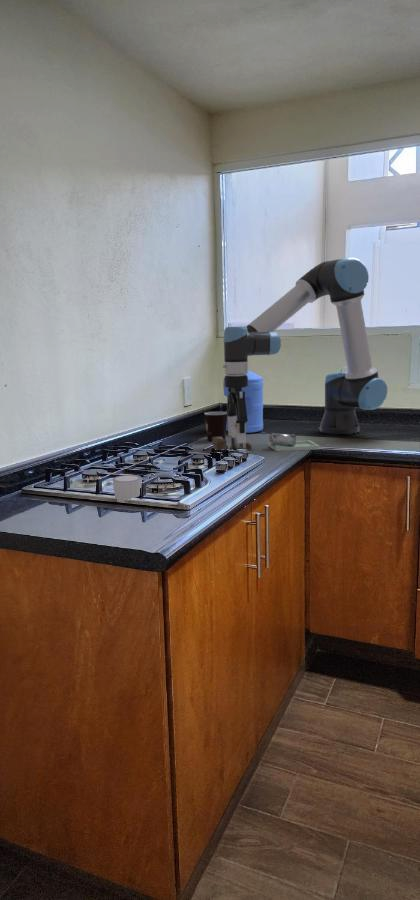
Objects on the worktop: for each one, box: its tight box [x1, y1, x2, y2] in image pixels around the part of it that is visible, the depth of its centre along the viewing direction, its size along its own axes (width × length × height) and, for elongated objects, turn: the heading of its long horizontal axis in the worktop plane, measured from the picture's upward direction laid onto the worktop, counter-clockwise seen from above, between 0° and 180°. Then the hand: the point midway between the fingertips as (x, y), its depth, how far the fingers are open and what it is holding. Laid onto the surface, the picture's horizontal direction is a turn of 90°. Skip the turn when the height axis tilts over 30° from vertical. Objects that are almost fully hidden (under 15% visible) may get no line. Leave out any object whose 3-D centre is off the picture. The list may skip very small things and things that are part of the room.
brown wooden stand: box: [211, 436, 253, 450], centre depth 200 cm, size 12×9×5 cm
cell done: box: [268, 432, 297, 447], centre depth 202 cm, size 4×4×9 cm
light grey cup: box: [112, 474, 143, 503], centre depth 141 cm, size 7×7×7 cm
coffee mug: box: [203, 411, 228, 442], centre depth 220 cm, size 12×9×10 cm
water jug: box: [222, 369, 264, 434], centre depth 237 cm, size 16×16×28 cm
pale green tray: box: [268, 439, 321, 452], centre depth 203 cm, size 15×10×1 cm, turn 100°
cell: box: [230, 424, 244, 450], centre depth 199 cm, size 4×4×9 cm
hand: (236, 439), depth 199 cm, fingers open, 13 cm apart
